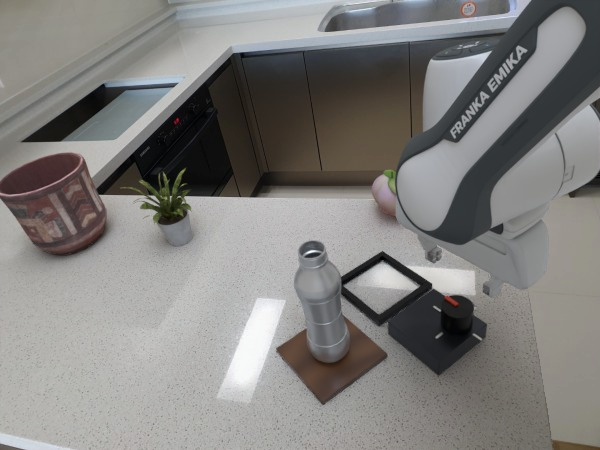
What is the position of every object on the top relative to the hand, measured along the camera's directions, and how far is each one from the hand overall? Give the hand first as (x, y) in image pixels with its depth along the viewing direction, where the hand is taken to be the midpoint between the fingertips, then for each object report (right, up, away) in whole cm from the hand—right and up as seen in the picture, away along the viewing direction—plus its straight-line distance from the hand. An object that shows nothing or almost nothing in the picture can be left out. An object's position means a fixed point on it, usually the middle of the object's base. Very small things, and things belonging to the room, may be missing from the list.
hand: (460, 275), depth 61 cm
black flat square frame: (-7, -4, +18) cm, 20 cm away
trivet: (-17, -13, +9) cm, 23 cm away
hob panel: (-1, -10, +8) cm, 13 cm away
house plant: (-48, +3, +39) cm, 62 cm away
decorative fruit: (-1, +9, +35) cm, 36 cm away
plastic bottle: (-17, -12, +8) cm, 22 cm away
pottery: (-73, +3, +46) cm, 86 cm away
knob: (+2, -8, +6) cm, 10 cm away
